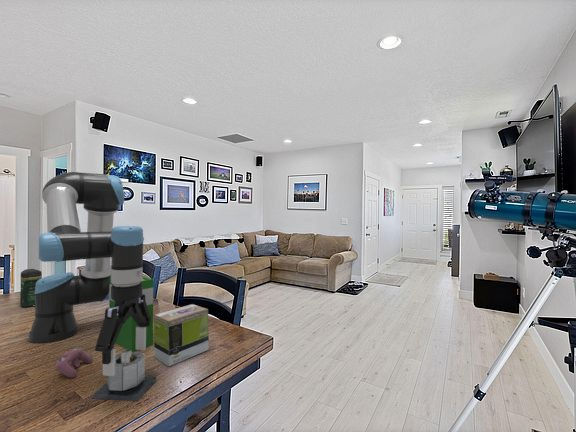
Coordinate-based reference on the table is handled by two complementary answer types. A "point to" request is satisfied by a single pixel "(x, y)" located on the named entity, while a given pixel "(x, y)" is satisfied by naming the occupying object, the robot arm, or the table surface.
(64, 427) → the table surface
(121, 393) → the block
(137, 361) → the hub
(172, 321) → the tea box
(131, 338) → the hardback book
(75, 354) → the video game controller
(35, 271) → the coffee jar
